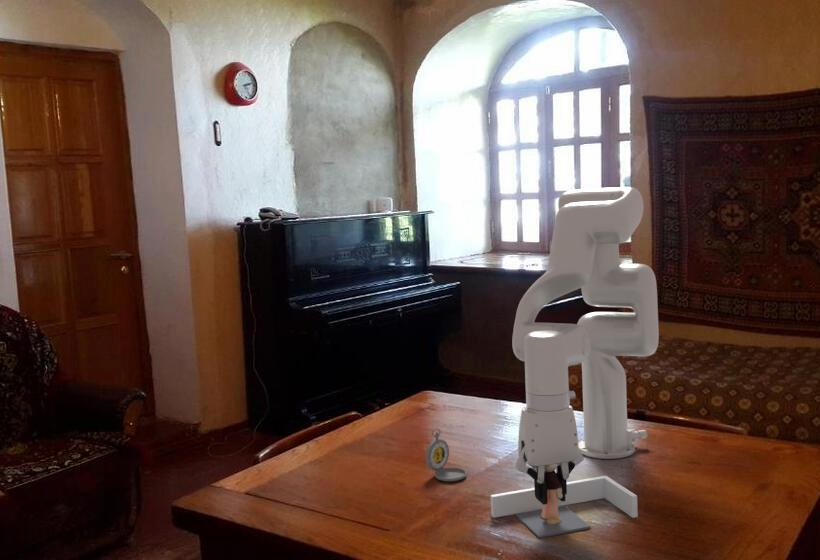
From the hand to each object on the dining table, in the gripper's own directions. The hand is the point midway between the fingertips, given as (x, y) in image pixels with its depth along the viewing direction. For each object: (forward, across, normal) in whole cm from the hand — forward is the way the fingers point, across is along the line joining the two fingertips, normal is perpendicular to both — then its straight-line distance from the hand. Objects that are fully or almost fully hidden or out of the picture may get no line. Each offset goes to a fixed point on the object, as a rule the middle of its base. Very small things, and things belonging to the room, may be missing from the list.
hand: (550, 499), depth 144 cm
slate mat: (+4, 0, 0) cm, 4 cm away
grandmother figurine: (+4, 0, 0) cm, 4 cm away
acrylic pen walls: (+4, -3, -2) cm, 6 cm away
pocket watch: (+5, +10, -30) cm, 32 cm away
